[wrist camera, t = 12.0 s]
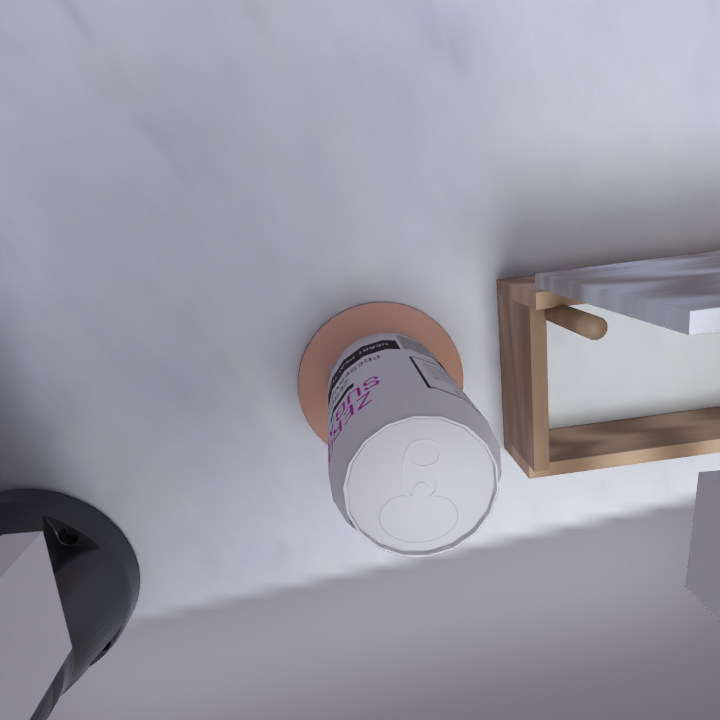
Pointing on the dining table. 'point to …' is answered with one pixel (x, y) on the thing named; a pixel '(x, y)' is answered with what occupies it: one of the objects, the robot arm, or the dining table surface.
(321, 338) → the saucer
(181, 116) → the dining table surface
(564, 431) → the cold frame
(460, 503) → the supplement can
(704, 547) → the robot arm
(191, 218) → the dining table surface
